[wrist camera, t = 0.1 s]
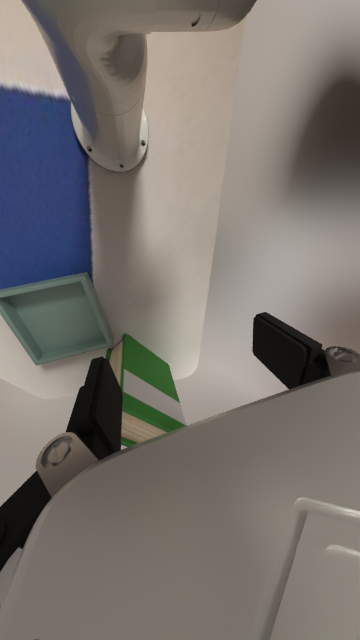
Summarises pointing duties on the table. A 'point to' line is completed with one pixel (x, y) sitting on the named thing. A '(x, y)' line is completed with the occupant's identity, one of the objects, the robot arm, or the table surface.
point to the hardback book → (144, 392)
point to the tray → (56, 317)
